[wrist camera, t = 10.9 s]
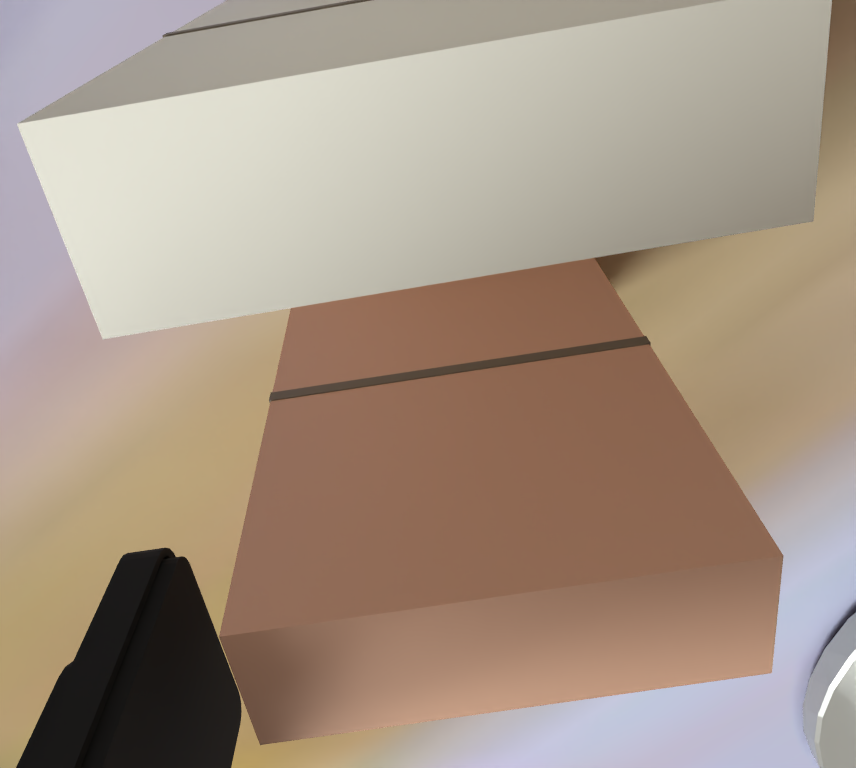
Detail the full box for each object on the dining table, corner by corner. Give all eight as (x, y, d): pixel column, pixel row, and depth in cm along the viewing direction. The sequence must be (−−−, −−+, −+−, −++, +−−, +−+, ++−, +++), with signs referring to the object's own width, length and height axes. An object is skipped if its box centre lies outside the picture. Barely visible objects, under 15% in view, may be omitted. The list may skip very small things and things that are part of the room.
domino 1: (569, 49, 15) (815, 222, 7) (253, 103, 16) (101, 341, 7) (561, -61, 15) (837, -23, 6) (226, -2, 15) (12, 122, 6)
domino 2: (584, 311, 18) (773, 673, 10) (314, 352, 18) (259, 746, 10) (579, 232, 17) (785, 553, 9) (296, 276, 17) (217, 635, 9)
